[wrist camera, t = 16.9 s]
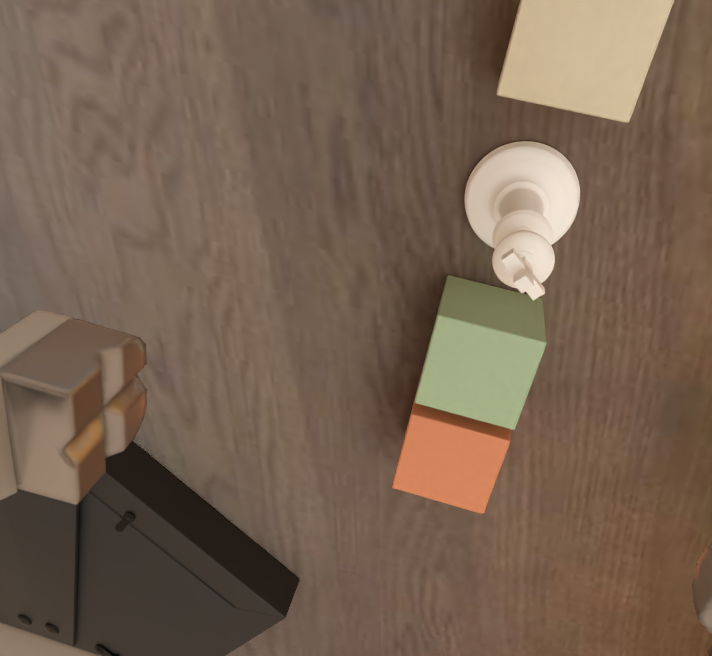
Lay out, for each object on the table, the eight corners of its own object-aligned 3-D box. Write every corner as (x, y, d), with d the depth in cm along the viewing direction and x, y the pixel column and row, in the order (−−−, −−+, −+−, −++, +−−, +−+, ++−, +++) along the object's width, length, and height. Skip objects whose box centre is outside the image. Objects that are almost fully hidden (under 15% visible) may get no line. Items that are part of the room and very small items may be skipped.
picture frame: (19, 348, 38) (-120, 547, 52) (-32, 383, 35) (-168, 588, 48) (300, 579, 42) (102, 710, 55) (279, 633, 38) (73, 759, 52)
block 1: (447, 274, 30) (437, 314, 26) (542, 297, 30) (547, 342, 26) (426, 354, 32) (413, 403, 28) (514, 377, 32) (514, 431, 28)
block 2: (423, 364, 33) (410, 414, 29) (511, 387, 32) (510, 441, 28) (405, 433, 35) (391, 488, 31) (487, 455, 34) (483, 515, 30)
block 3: (532, -46, 24) (536, -57, 20) (656, -24, 23) (686, -30, 19) (498, 81, 26) (495, 95, 22) (611, 105, 25) (629, 123, 21)
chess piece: (536, 116, 26) (547, 170, 17) (602, 208, 27) (644, 302, 18) (442, 188, 28) (410, 268, 20) (507, 271, 29) (503, 381, 21)
